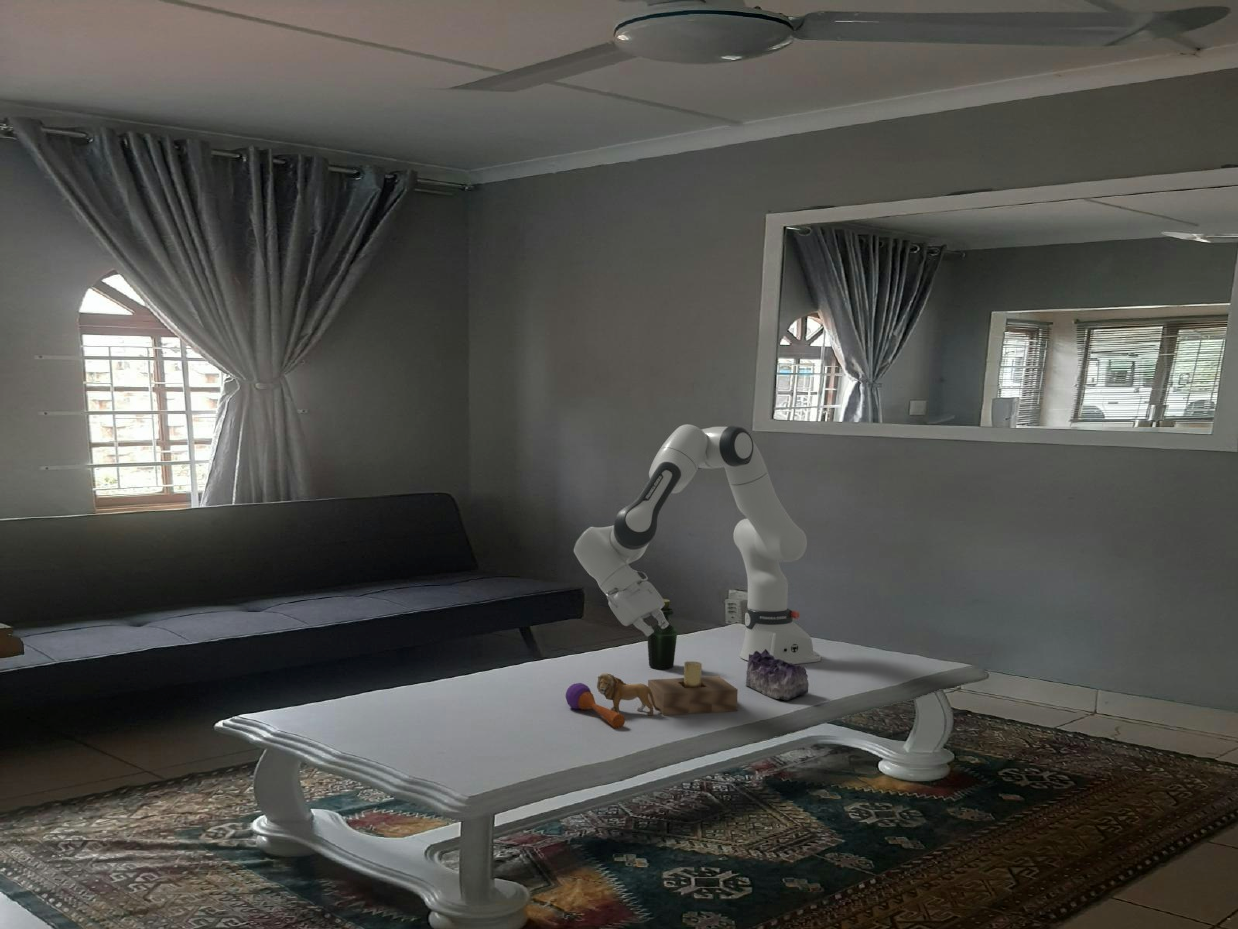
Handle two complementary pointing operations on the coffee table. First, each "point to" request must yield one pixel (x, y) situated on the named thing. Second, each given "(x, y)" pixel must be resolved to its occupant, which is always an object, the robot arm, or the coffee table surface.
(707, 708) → the walnut hole block
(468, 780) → the coffee table surface
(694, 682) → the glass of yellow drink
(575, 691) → the purple and orange maraca
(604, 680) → the lion figurine
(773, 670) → the geode
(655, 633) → the potion bottle
